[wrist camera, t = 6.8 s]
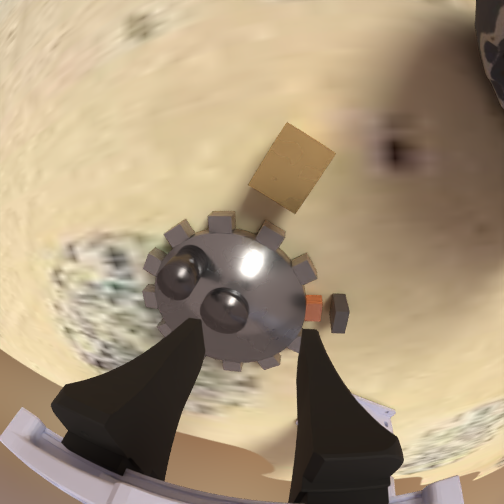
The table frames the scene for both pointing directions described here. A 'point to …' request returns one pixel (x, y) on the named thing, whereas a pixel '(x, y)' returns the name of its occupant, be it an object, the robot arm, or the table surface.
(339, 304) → the block
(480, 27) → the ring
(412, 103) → the table surface
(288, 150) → the link block
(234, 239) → the sprocket
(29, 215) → the table surface
